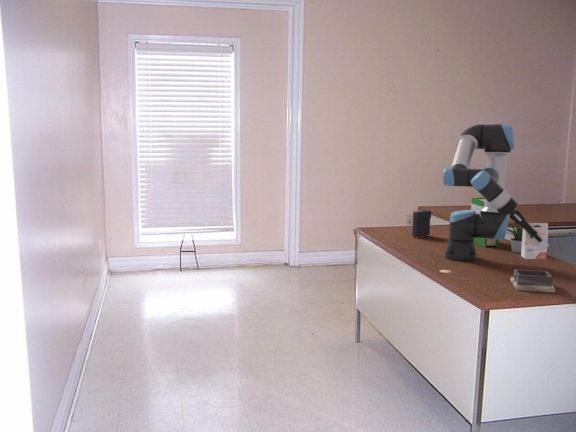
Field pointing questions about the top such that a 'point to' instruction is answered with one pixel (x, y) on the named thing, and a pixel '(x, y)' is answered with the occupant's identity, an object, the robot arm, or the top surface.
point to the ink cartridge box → (534, 242)
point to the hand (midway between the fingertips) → (544, 245)
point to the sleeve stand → (532, 280)
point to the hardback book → (477, 206)
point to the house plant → (516, 238)
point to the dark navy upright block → (421, 223)
